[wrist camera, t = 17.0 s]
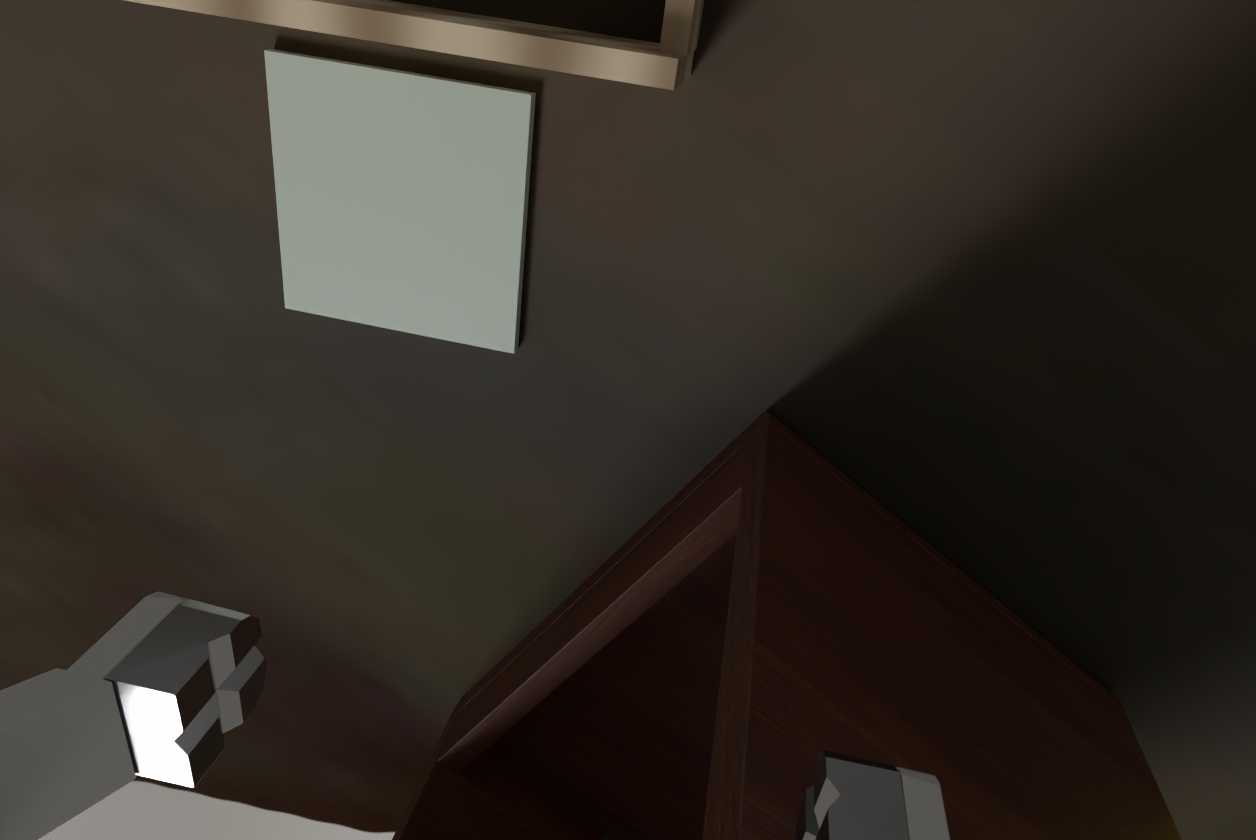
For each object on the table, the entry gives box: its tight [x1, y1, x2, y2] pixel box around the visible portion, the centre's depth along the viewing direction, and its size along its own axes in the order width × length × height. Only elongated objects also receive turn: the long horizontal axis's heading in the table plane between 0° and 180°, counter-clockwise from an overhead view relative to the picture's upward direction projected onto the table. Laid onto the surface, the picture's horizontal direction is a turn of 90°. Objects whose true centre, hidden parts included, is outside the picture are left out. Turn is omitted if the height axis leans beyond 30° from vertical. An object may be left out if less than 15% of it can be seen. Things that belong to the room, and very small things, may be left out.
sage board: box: [264, 49, 536, 354], centre depth 44 cm, size 14×14×1 cm
